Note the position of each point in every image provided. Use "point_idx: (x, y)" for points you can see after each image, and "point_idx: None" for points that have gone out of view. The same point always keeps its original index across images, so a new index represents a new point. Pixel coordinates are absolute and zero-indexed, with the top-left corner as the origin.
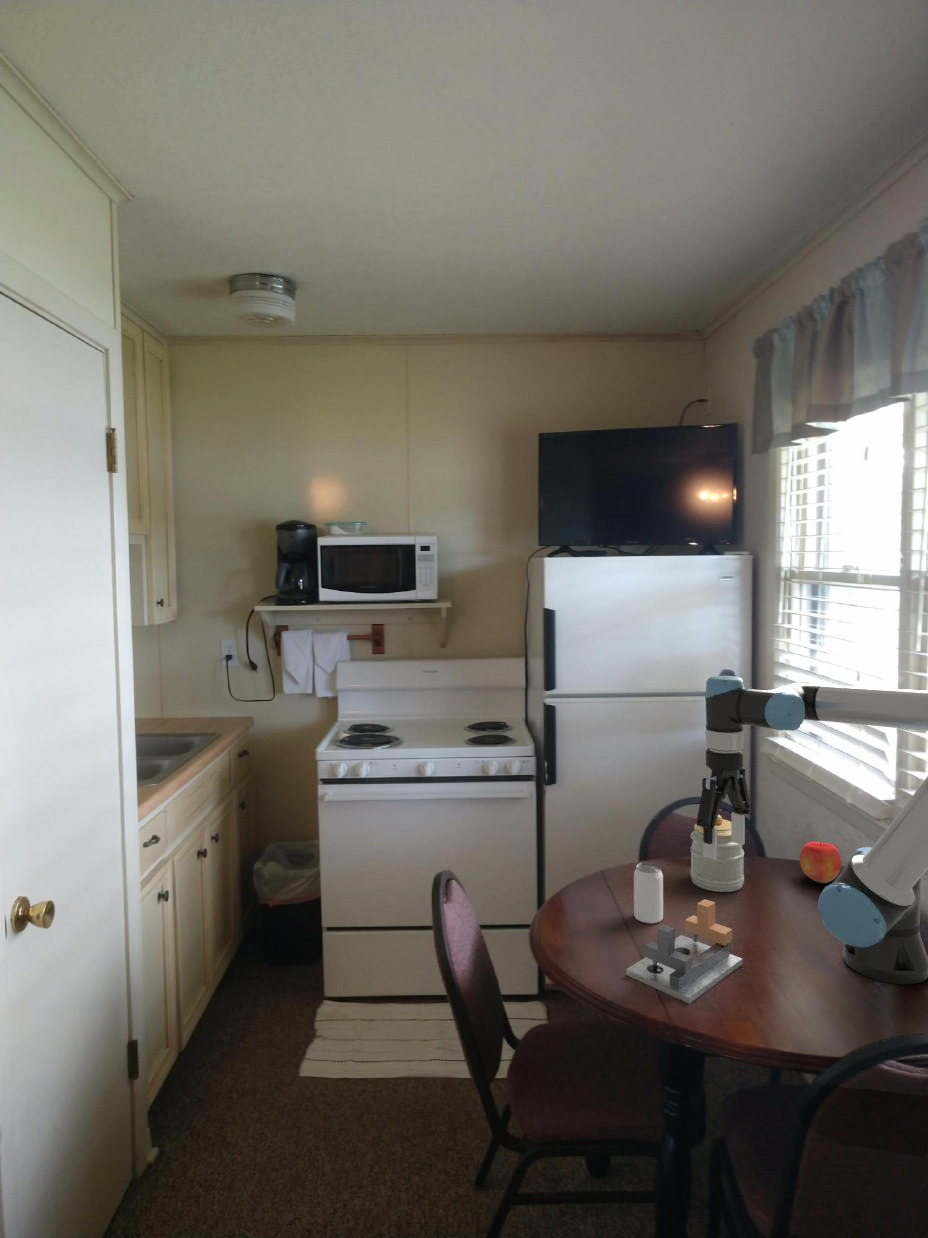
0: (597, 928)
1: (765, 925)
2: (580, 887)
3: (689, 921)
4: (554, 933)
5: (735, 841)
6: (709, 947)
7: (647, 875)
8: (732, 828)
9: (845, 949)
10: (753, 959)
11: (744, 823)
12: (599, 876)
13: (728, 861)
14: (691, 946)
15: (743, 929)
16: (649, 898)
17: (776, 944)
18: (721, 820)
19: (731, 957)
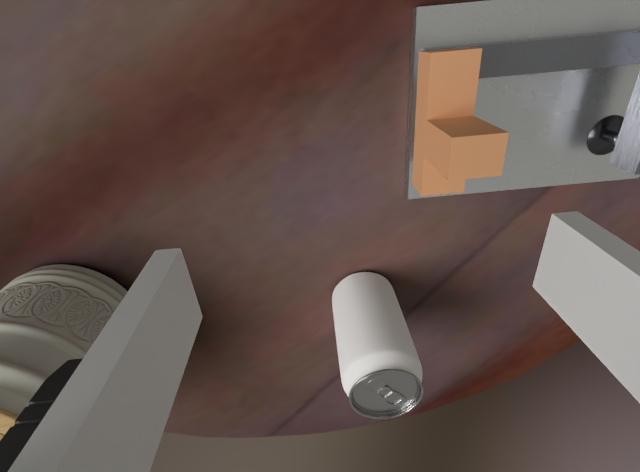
0: (472, 321)
1: (154, 103)
2: (348, 423)
3: (464, 179)
4: (538, 347)
5: (192, 301)
6: None
7: (416, 371)
8: (172, 393)
9: None
10: (360, 3)
11: (70, 384)
12: (283, 433)
13: (45, 328)
14: None
15: (229, 130)
16: (401, 318)
17: (225, 7)
18: None
19: (431, 35)
